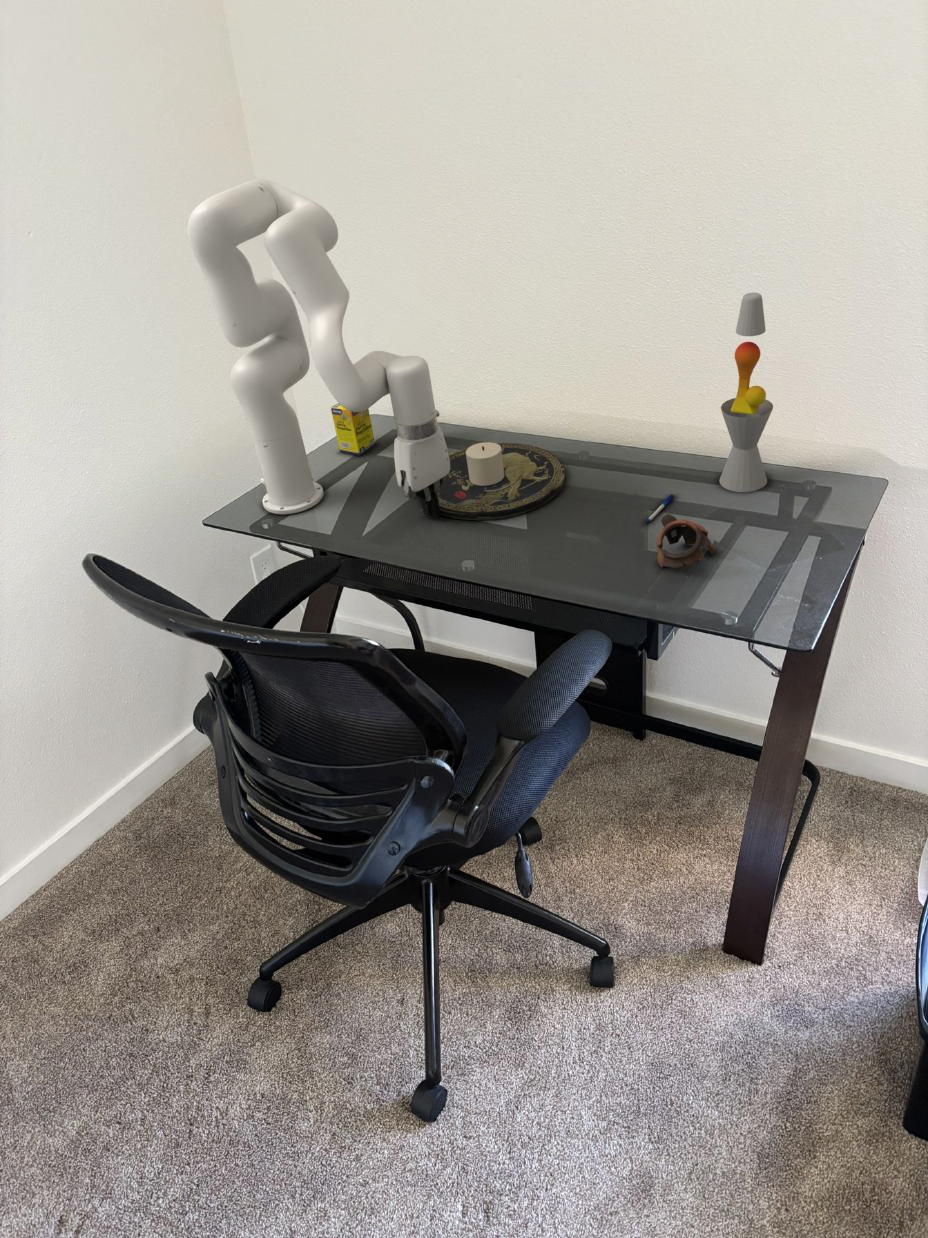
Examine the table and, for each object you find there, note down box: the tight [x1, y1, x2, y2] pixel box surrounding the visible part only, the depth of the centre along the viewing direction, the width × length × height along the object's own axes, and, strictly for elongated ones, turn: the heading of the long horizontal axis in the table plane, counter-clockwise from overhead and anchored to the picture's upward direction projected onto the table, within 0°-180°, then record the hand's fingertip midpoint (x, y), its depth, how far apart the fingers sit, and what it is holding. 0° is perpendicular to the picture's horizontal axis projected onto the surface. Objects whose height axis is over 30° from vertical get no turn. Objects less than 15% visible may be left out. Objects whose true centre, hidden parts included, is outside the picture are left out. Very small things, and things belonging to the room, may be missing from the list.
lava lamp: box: [719, 292, 774, 493], centre depth 167 cm, size 9×9×35 cm
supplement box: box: [330, 402, 376, 457], centre depth 208 cm, size 6×6×11 cm
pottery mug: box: [656, 513, 714, 568], centre depth 158 cm, size 12×10×8 cm
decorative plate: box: [419, 442, 566, 521], centre depth 189 cm, size 30×2×30 cm
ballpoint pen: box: [645, 493, 675, 524], centre depth 173 cm, size 10×1×1 cm, turn 146°
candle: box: [466, 441, 504, 486], centre depth 186 cm, size 7×7×7 cm
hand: (432, 514), depth 180 cm, fingers closed
